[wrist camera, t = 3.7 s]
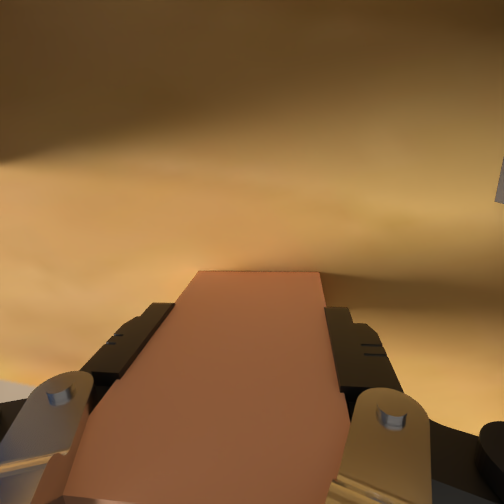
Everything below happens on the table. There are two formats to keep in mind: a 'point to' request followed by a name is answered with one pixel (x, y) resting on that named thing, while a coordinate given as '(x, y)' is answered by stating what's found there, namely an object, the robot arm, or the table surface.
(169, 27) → the table surface
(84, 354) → the table surface
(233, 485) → the domino
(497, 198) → the domino
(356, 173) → the table surface
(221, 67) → the table surface
